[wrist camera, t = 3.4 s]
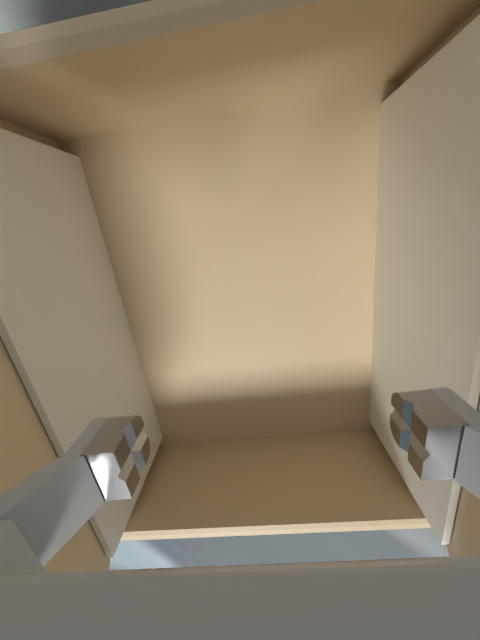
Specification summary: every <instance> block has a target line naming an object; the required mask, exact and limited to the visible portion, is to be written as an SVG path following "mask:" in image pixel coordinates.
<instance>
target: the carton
mask: <svg viewBox="0 0 480 640" xmlns="http://www.w3.org/2000/svg"><path fill="white" fill-rule="evenodd" d="M0 336H1V338H2V340H3V343H4V345H5V347H6V349H7V351H8V353H9V355H10V357H11V359H12V361H13V363H14V365H15V367H16V369H17V371H18V374H19V376H20V378H21V380H22V382H23V384H24V386H25V388H26V390H27V392H28V394H29V396H30V398H31V400H32V403H33V405H34V407H35V409H36V411H37V413H38V415H39V417H40V419H41V421H42V423H43V425H44V427H45V429H46V432H47V434H48V436H49V438H50V440H51V442H52V444H53V446H54V448H55V450H56V452H57V454H58V456H59V458H60V457H63V456H64V455H65V453H66V452H67V451H68V450H69V448H70V447H71V446H72V445H73V443H74V442H75V441H76V440H77V438H78V437H79V436H80V435H81V433H82V432H83V431H84V430H85V428H86V427H87V426H88V425H89V423H90V422H91V421H92V420H94V419H96V418H106V417H118V416H134V415H138V416H141V417H142V420H143V422H144V427H143V429H142V431H143V432H144V433H146V434H147V435H148V438H149V441H150V454H149V459H148V461H147V464H146V466H145V467H144V468H143V469H142V470H140V471H139V475H140V480H139V483H138V485H137V487H136V490H135V492H134V494H133V497H132V499H121V500H111V501H104V502H105V503H104V504H103V505H102V506H101V507H100V508H99V509H98V510H97V511H96V512H95V513H94V514H93V515H92V517H91V518H90V519H89V521H90V523H91V525H92V527H93V529H94V531H95V533H96V535H97V537H98V539H99V541H100V543H101V545H102V547H103V549H104V552H105V554H106V556H107V557H113V556H114V554H115V552H116V549H117V547H118V544H119V542H120V541H126V540H150V539H174V538H198V537H222V536H246V535H269V534H293V533H317V532H341V531H365V530H389V529H413V528H432V530H433V531H434V533H435V535H436V536H437V538H438V540H439V542H440V543H441V545H448V544H449V543H450V538H451V533H452V528H453V523H454V518H455V513H456V508H457V503H458V498H459V494H460V489H461V485H459V484H458V483H457V482H455V481H454V480H455V479H446V480H420V478H419V477H418V475H417V474H416V472H415V471H414V469H413V467H412V466H411V464H410V463H409V461H408V460H407V459H408V452H406V451H405V450H403V449H401V448H400V447H399V446H398V445H397V443H396V441H395V440H394V437H393V435H392V432H391V428H390V415H391V414H392V412H393V411H394V410H395V409H394V407H393V406H392V405H391V397H392V394H393V393H394V392H405V391H415V390H427V389H430V388H439V387H447V388H450V389H451V390H453V391H454V392H455V393H456V394H457V395H458V396H460V397H461V398H462V399H463V400H464V401H466V402H467V403H468V404H469V405H470V406H472V407H473V408H474V409H475V410H476V409H477V404H478V399H479V395H480V0H150V1H146V2H142V3H137V4H133V5H128V6H124V7H119V8H115V9H110V10H106V11H102V12H97V13H93V14H88V15H84V16H79V17H75V18H71V19H66V20H62V21H57V22H53V23H48V24H44V25H39V26H35V27H31V28H26V29H22V30H17V31H13V32H8V33H4V34H0Z"/></svg>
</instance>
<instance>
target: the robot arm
mask: <svg viewBox="0 0 480 640" xmlns="http://www.w3.org/2000/svg"><path fill="white" fill-rule="evenodd" d="M391 405H392V406H393V407H394V409H395V410H394V411H393V412H392V414H391V415H390V428H391V432H392V435H393V437H394V440H395V441H396V443H397V445H398V446H399V447H400V448H401V449H403V450H405V451H406V452H408V459H407V460H408V461H409V463H410V464H411V466H412V467H413V469H414V471H415V472H416V474H417V475H418V477H419V478H420V480H446V479H455V480H454V481H455V482H457V483H458V484H459V485H461V486H462V487H464V488H465V489H466V490H468V491H469V492H471V493H472V494H473V495H475V496H476V497H478V498H479V499H480V413H479V412H478V411H476V410H475V409H474V408H473V407H472V406H470V405H469V404H468V403H467V402H466V401H464V400H463V399H462V398H461V397H460V396H458V395H457V394H456V393H455V392H454V391H453V390H451V389H450V388H447V387H439V388H430V389H427V390H415V391H405V392H394V393H393V394H392V397H391ZM143 427H144V422H143V420H142V417H141V416H138V415H134V416H118V417H106V418H96V419H94V420H92V421H91V422H90V423H89V425H88V426H87V427H86V428H85V430H84V431H83V432H82V433H81V435H80V436H79V437H78V438H77V440H76V441H75V442H74V443H73V445H72V446H71V447H70V448H69V450H68V451H67V452H66V453H65V455H64V456H63V457H60V458H56V459H55V460H53V461H52V462H50V463H49V464H47V465H46V466H44V467H43V468H41V469H40V470H38V471H36V472H35V473H33V474H32V475H30V476H29V477H27V478H26V479H24V480H23V481H21V482H20V483H18V484H16V485H15V486H13V487H12V488H10V489H9V490H7V491H6V492H4V493H3V494H1V495H0V640H480V556H455V557H430V558H406V559H382V560H358V561H333V562H309V563H285V564H259V565H234V566H208V567H183V568H158V569H133V570H108V571H83V572H58V573H47V572H46V571H45V569H44V566H45V565H46V564H47V562H48V561H49V560H50V559H51V558H52V557H53V556H54V555H55V554H56V553H57V552H58V551H59V550H60V549H61V548H62V547H63V546H64V545H65V544H66V543H67V542H68V541H69V539H70V538H71V537H72V536H73V535H74V534H75V533H76V532H77V531H78V530H79V529H80V528H81V527H82V526H83V525H84V524H85V523H86V522H87V521H88V520H89V519H90V518H91V517H92V515H93V514H94V513H95V512H96V511H97V510H98V509H99V508H100V507H101V506H102V505H103V504H104V503H105V502H104V501H111V500H121V499H132V497H133V494H134V492H135V490H136V487H137V485H138V483H139V480H140V475H139V471H140V470H142V469H143V468H144V467H145V466H146V464H147V461H148V459H149V454H150V441H149V438H148V435H147V434H146V433H144V432H143V431H142V429H143Z"/></svg>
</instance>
